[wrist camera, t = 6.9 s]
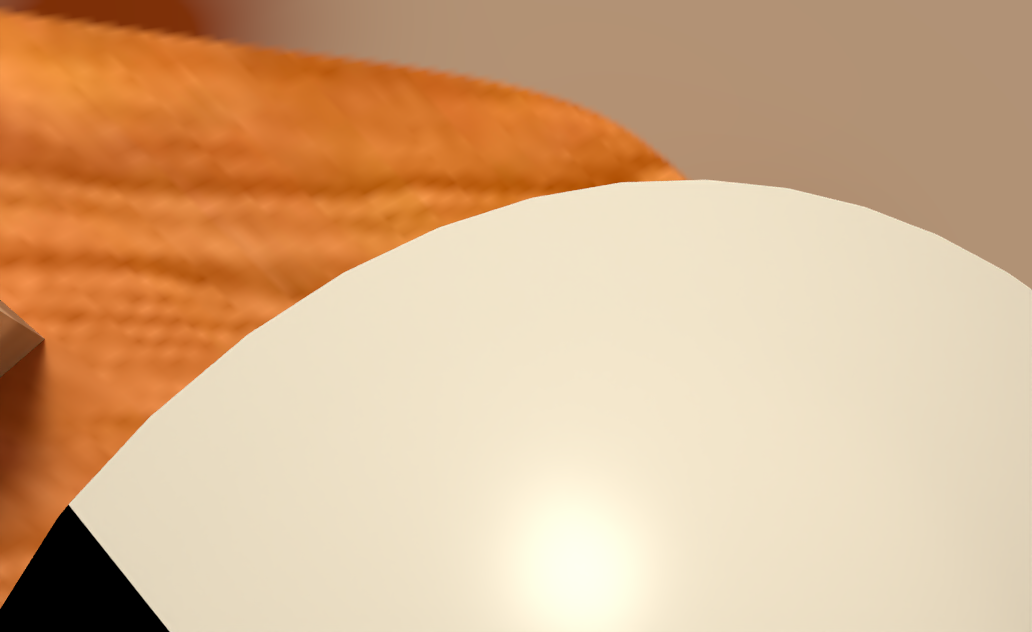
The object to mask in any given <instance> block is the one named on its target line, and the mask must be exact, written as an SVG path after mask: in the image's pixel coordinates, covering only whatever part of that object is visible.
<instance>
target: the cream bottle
mask: <svg viewBox="0 0 1032 632" xmlns="http://www.w3.org/2000/svg"><path fill="white" fill-rule="evenodd" d="M169 631H170V632H1032V289H1030V288H1029V287H1027V286H1026V285H1025V284H1023V283H1022V282H1020V281H1019V280H1017V279H1016V278H1015V277H1013V276H1012V275H1010V274H1009V273H1007V272H1006V271H1004V270H1002V269H1000V268H998V267H997V266H995V265H993V264H991V263H989V262H987V261H985V260H983V259H982V258H980V257H978V256H976V255H974V254H972V253H970V252H969V251H966V250H965V249H963V248H961V247H959V246H957V245H955V244H954V243H952V242H950V241H948V240H946V239H944V238H943V237H941V236H939V235H936V234H934V233H931V232H928V231H926V230H923V229H921V228H918V227H915V226H913V225H910V224H908V223H905V222H903V221H900V220H898V219H895V218H892V217H890V216H887V215H884V214H882V213H879V212H876V211H874V210H871V209H869V208H866V207H863V206H859V205H855V204H851V203H846V202H842V201H838V200H834V199H830V198H826V197H822V196H818V195H813V194H810V193H805V192H801V191H797V190H793V189H789V188H781V187H770V186H761V185H752V184H742V183H733V182H723V181H714V180H684V181H654V182H624V183H616V184H610V185H604V186H598V187H593V188H587V189H581V190H575V191H570V192H564V193H558V194H552V195H546V196H541V197H535V198H530V199H527V200H524V201H521V202H518V203H515V204H511V205H508V206H505V207H502V208H499V209H496V210H493V211H489V212H486V213H483V214H480V215H477V216H474V217H471V218H467V219H464V220H461V221H458V222H455V223H452V224H449V225H446V226H442V227H439V228H437V229H435V230H433V231H431V232H429V233H426V234H424V235H422V236H420V237H418V238H416V239H414V240H412V241H410V242H407V243H405V244H403V245H401V246H399V247H397V248H395V249H393V250H391V251H389V252H386V253H384V254H382V255H380V256H378V257H376V258H374V259H372V260H370V261H367V262H365V263H363V264H361V265H359V266H357V267H355V268H353V269H351V270H348V271H346V272H344V273H343V274H341V275H339V276H338V277H336V278H335V279H333V280H332V281H330V282H329V283H327V284H326V285H324V286H322V287H321V288H319V289H318V290H316V291H315V292H313V293H312V294H310V295H308V296H307V297H305V298H304V299H302V300H301V301H299V302H298V303H296V304H295V305H293V306H291V307H290V308H288V309H287V310H285V311H284V312H282V313H281V314H279V315H278V316H276V317H274V318H273V319H271V320H270V321H268V322H267V323H265V324H264V325H262V326H260V327H259V328H257V329H256V330H254V331H253V332H251V333H250V334H248V335H247V336H245V337H244V338H243V339H242V340H241V341H240V342H238V343H237V344H236V345H235V346H234V347H232V348H231V349H230V350H229V351H228V352H226V353H225V354H224V355H223V356H222V357H221V358H219V359H218V360H217V361H216V362H215V363H213V364H212V365H211V366H210V367H209V368H207V369H206V370H205V371H204V372H203V373H202V374H200V375H199V376H198V377H197V378H196V379H194V380H193V381H192V382H191V383H190V384H188V385H187V386H186V387H185V388H184V389H183V390H181V391H180V392H179V393H178V394H177V395H175V396H174V397H173V398H172V399H171V400H169V401H168V402H167V403H166V404H165V405H164V406H162V407H161V408H160V409H159V410H158V411H156V412H155V413H154V414H153V415H152V416H150V418H149V419H148V420H147V421H146V422H145V423H144V424H143V425H142V426H141V427H140V428H139V429H138V430H137V432H136V433H135V434H134V435H133V436H132V437H131V438H130V439H129V440H128V441H127V442H126V443H125V444H124V446H123V447H122V448H121V449H120V450H119V451H118V452H117V453H116V454H115V455H114V456H113V457H112V458H111V459H110V461H109V462H108V463H107V464H106V465H105V466H104V467H103V468H102V469H101V470H100V471H99V472H98V473H97V475H96V476H95V477H94V478H93V479H92V480H91V481H90V482H89V483H88V484H87V485H86V486H85V487H84V489H83V490H82V491H81V492H80V493H79V494H78V495H77V496H76V497H75V498H74V499H73V500H72V501H71V503H70V504H69V505H68V506H67V507H66V508H65V510H64V511H63V512H62V513H61V514H60V516H59V517H58V518H57V520H56V521H55V523H54V525H53V526H52V528H51V529H50V531H49V532H48V534H47V536H46V537H45V539H44V540H43V542H42V544H41V545H40V547H39V548H38V550H37V552H36V553H35V555H34V556H33V558H32V559H31V561H30V563H29V564H28V566H27V567H26V569H25V571H24V572H23V574H22V575H21V577H20V579H19V580H18V582H17V583H16V585H15V586H14V588H13V590H12V591H11V593H10V594H9V596H8V598H7V599H6V601H5V602H4V604H3V606H2V607H1V609H0V632H169Z"/></svg>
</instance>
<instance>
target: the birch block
mask: <svg viewBox="0 0 1032 632" xmlns="http://www.w3.org/2000/svg"><path fill="white" fill-rule="evenodd" d="M43 340H44V338H43V337H42V336H41V335H40V334H38V333H37V332H36V331H35V330H34V329H33V328H32V327H30V326H29V325H28V324H27V323H26V322H25V321H24V320H23V319H21V318H20V317H19V316H18V315H17V314H16V313H15V312H13V311H12V310H11V309H10V308H9V307H8V306H7V305H5V304H4V303H3V302H2V301H1V300H0V377H2V376H3V375H4V374H5V373H6V372H7V371H9V370H10V369H11V368H12V367H13V366H14V365H15V364H17V363H18V362H19V361H20V360H21V359H22V358H24V357H25V356H26V355H27V354H28V353H29V352H31V351H32V350H33V349H34V348H35V347H36V346H37V345H39V344H40V343H41V342H42V341H43Z"/></svg>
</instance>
